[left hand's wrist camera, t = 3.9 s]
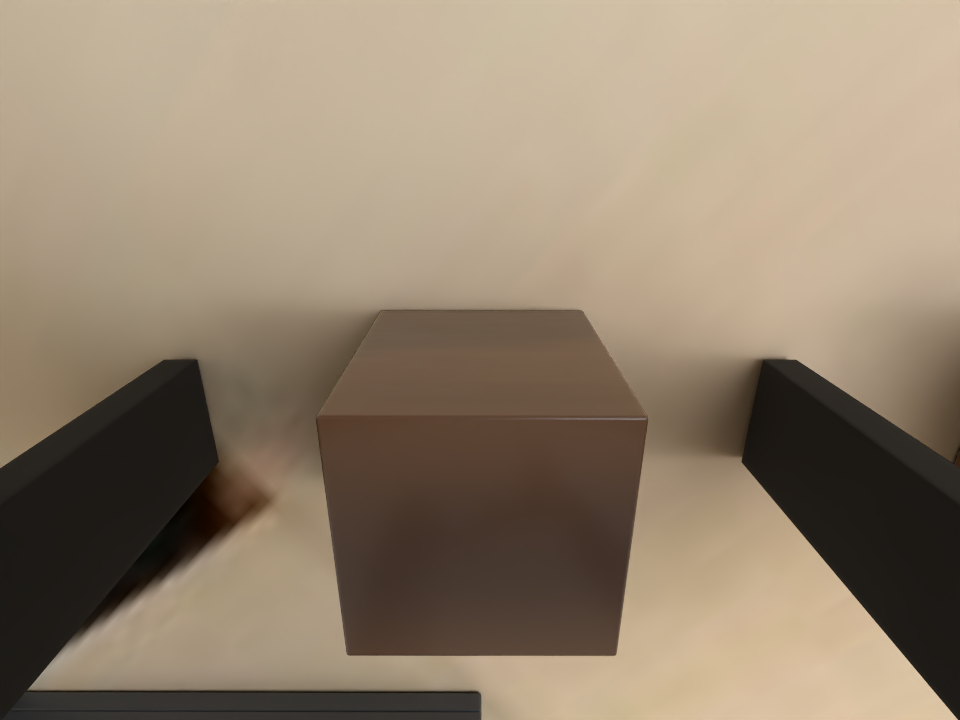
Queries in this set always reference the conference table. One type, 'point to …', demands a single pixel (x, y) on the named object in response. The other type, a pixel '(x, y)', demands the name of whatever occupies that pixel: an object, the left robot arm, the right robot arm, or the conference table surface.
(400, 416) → the block
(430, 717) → the tray
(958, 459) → the block
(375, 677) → the conference table surface
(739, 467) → the conference table surface
